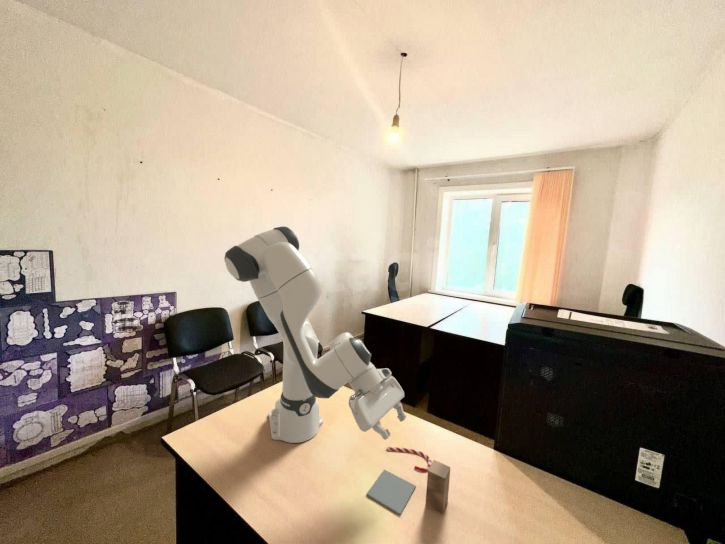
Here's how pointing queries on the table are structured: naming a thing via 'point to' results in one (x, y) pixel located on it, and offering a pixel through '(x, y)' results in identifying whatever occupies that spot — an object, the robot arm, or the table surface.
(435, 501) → the walnut block
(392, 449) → the candy cane
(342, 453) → the table surface
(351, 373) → the robot arm
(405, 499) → the slate mat
